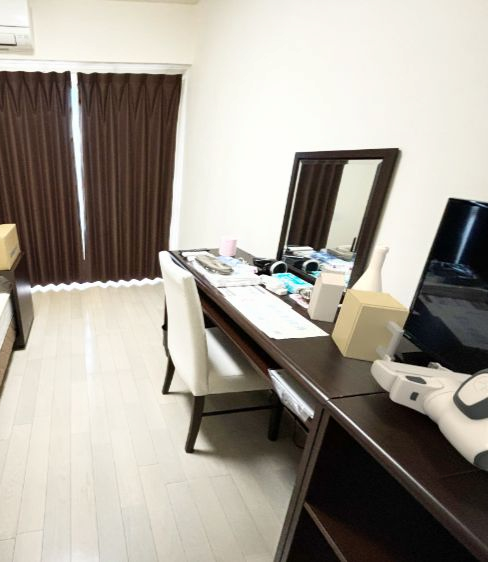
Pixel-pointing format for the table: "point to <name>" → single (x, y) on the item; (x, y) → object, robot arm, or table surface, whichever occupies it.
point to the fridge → (351, 311)
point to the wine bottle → (373, 272)
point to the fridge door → (376, 332)
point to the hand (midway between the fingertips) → (409, 360)
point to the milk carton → (326, 295)
